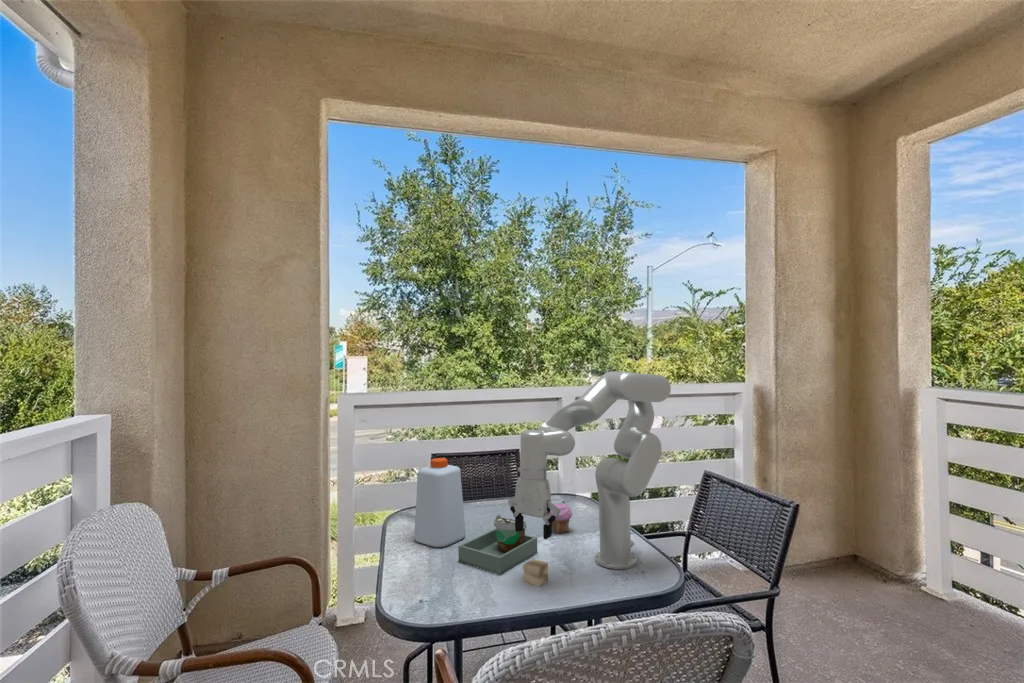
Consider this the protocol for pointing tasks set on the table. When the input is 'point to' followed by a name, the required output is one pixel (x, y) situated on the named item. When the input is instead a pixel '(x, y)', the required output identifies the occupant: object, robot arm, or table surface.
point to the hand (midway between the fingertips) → (533, 534)
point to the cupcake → (562, 518)
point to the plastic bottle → (439, 505)
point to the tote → (495, 553)
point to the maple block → (535, 572)
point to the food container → (508, 534)
